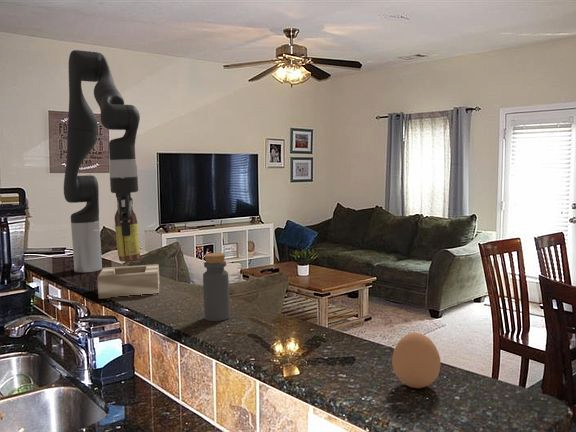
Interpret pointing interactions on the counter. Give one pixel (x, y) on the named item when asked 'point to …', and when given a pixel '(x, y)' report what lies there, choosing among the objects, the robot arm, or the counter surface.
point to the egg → (416, 360)
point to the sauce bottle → (127, 237)
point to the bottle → (216, 288)
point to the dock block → (128, 281)
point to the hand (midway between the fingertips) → (127, 234)
